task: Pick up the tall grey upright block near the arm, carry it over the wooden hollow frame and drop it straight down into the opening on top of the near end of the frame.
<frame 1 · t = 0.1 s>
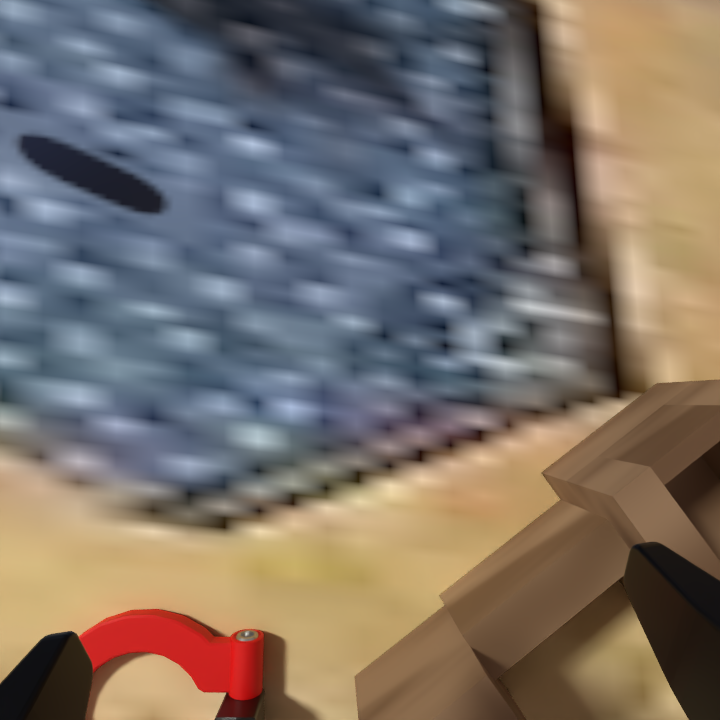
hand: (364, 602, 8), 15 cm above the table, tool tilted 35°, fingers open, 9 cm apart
wooden hollow frame: (557, 587, 23), on the table
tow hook: (158, 706, 22), on the table
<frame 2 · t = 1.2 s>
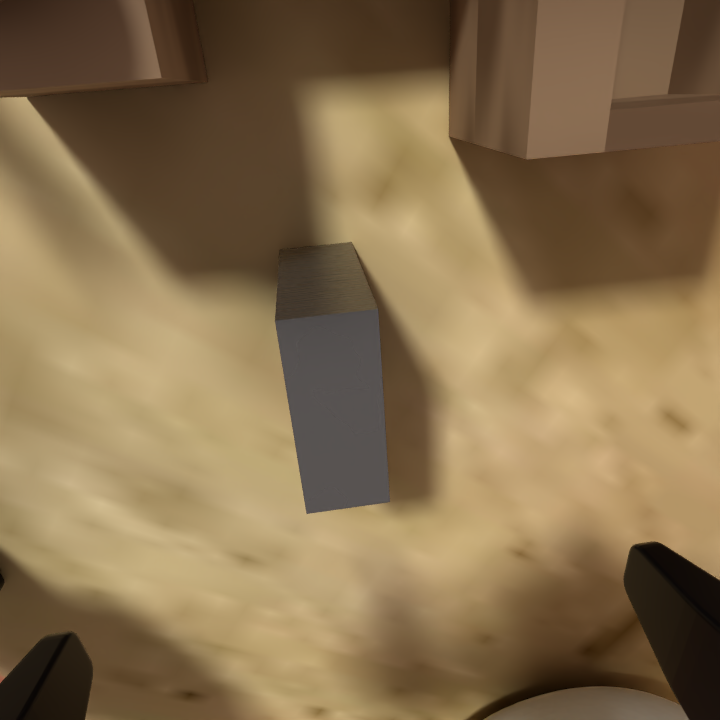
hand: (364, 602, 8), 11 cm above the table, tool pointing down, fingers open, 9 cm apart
tall grey upright block: (325, 327, 19), on the table
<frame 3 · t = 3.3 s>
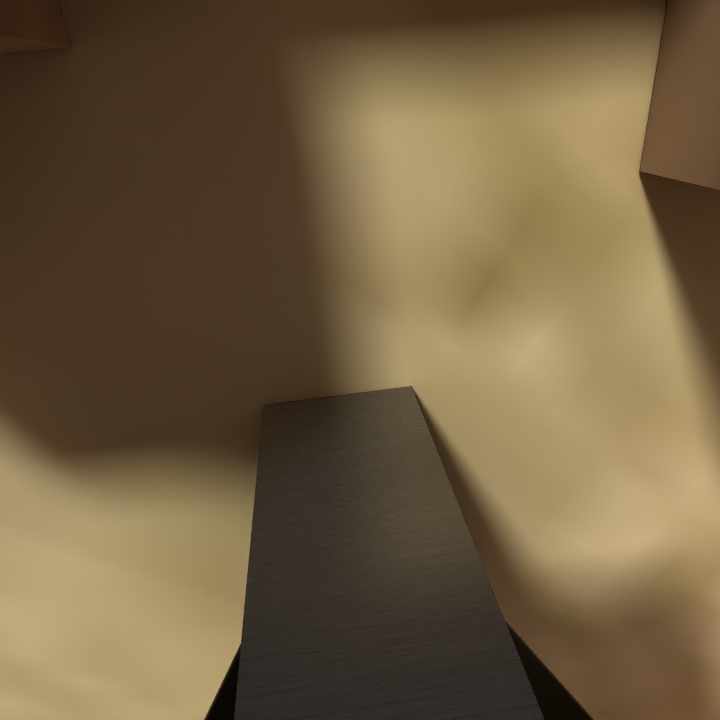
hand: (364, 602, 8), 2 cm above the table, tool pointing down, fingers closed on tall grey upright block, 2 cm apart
tall grey upright block: (354, 530, 10), on the table, touching gripper
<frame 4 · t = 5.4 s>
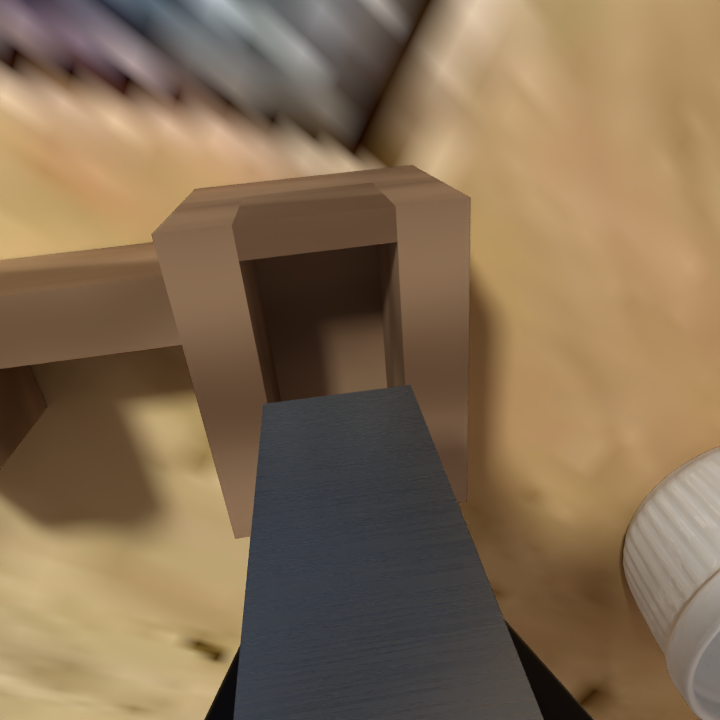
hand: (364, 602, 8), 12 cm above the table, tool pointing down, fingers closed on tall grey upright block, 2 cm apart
tall grey upright block: (353, 528, 10), point 10 cm above the table, touching gripper
wooden hollow frame: (152, 329, 18), on the table
ramekin: (715, 515, 27), on the table
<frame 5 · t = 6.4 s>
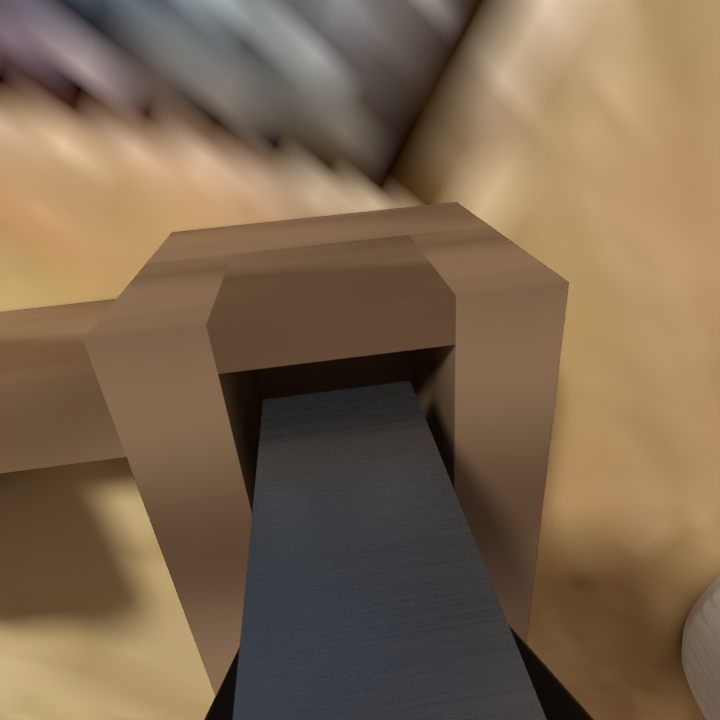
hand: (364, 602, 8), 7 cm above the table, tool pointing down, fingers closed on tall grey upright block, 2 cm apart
tall grey upright block: (353, 525, 10), point 6 cm above the table, touching gripper
wooden hollow frame: (121, 402, 14), on the table
when the fingers open (7 cm above the table, at t = 7.4 s): tall grey upright block drops 3 cm, resting on wooden hollow frame.
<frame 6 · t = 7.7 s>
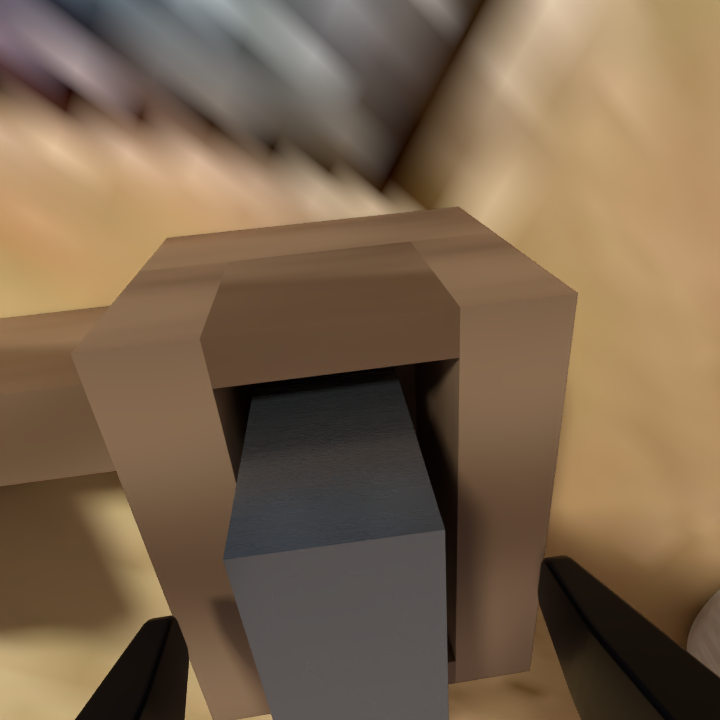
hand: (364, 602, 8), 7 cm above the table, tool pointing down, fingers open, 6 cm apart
tall grey upright block: (337, 436, 12), point 3 cm above the table, touching wooden hollow frame
wooden hollow frame: (116, 411, 14), on the table
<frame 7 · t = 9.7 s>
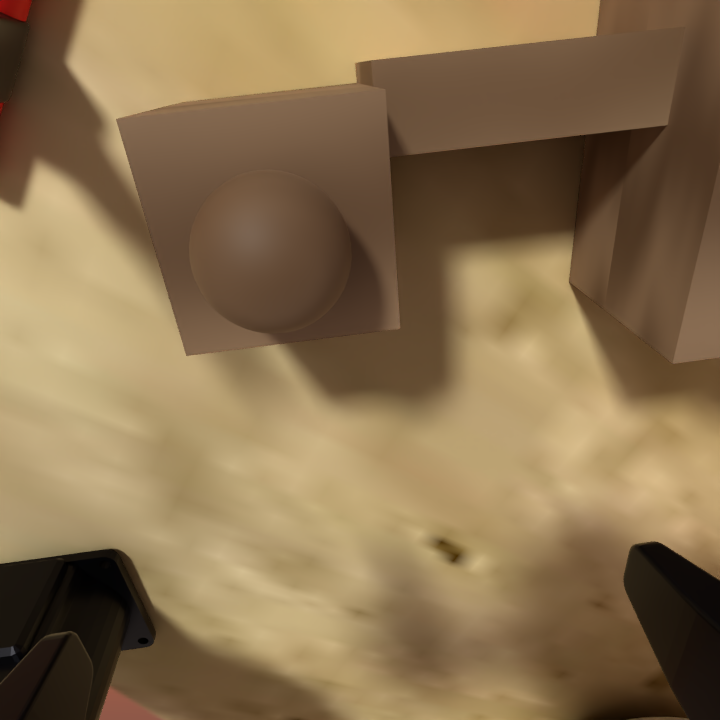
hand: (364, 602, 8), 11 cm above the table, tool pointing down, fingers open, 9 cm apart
wooden hollow frame: (506, 157, 16), on the table
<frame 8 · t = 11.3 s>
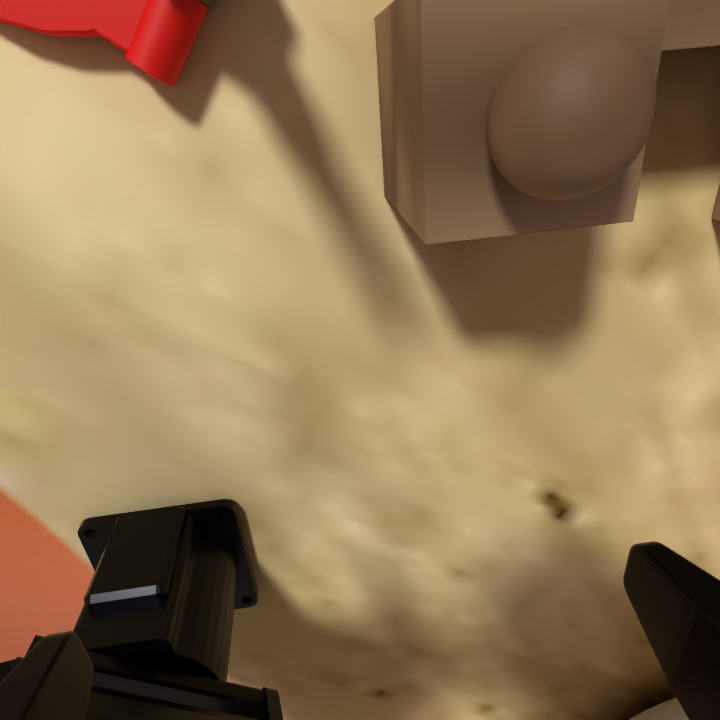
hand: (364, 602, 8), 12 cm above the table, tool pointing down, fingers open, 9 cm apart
wooden hollow frame: (671, 85, 17), on the table
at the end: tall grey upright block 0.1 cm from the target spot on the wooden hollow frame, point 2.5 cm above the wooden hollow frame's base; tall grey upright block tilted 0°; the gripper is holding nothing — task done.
